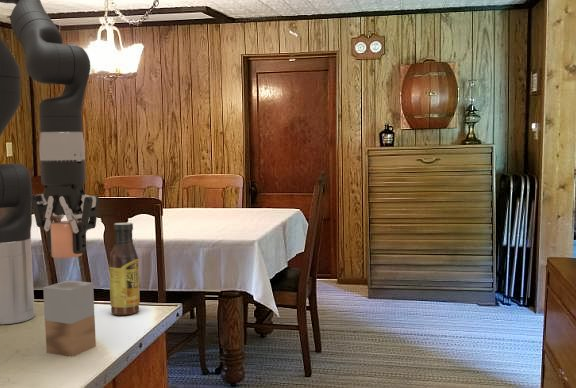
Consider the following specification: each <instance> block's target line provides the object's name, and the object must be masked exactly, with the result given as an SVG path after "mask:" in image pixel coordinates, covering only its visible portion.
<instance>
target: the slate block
mask: <svg viewBox="0 0 576 388" xmlns="http://www.w3.org/2000/svg"><path fill="white" fill-rule="evenodd" d="M42 289H43V291H42V292H43V306H44V307H43V308H44V309H43V310H44V321H45V320H46V321H53V322H60V323H67V324H72V323H75V322H77V321H80V320H82V319H85V318H88V317H90V316H93V315H95V296H94V294H95V293H94V282H88V281H79V280H72V279H71V280H70V279H68V280H64V281H61V282H57V283H54V284H50V285H47V286H44V287H42Z"/></svg>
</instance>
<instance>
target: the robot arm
mask: <svg viewBox="0 0 576 388" xmlns="http://www.w3.org/2000/svg"><path fill="white" fill-rule="evenodd" d="M0 3H3V4H14V5H15V6H14V8H13V10H12V11H11V14H10V27H11V29H12V32H13V34H14V35H15V37H16V39H17V40H18V41H19V43H20V44H21V46H22V48H23V52H24V57H25V59H24V60H25V68H26V73H27V74H28V75H29V77H30V78H31V79H32V80H34V81H36V82H37V83H40V84H46V85H47V84H48V85H63V86H64V89H63V91H62V93H61V95H60V96H55V97H49V98H45V99H43V100H41V101H40V102H39V108H38V109H39V110H38V112H39V129H40V130H39V133H40V134H39V163H40V164H39V165H40V168H39V169H40V183H41V185H43V186H44V190H43V193H41V194H33V188H32V187H33V186H32V177H31V174H30V173H31V172H30V170H29V169H28V168H27V167H26V165H24V164H22V163H0V209H5V208H7V211H6V213H5V214H4V215H3V216H2V217H1V218H0V325H9V324H11V325H13V324H17V323H21V322H27V321H29V320H32V319H33V318H34V317H35V295H34V292H35V291H34V274H33V255H32V232H31V231H32V222H33V217H32V216H34V219H35V222H36V226H37V227H38V228H42V229H44V231H45V233H46V246H47V249H48V252H50V253H51V228H50V223H52V222H57V221H62V219H64V217H66V221H69V222H70V223H71V226H72V229H73V232H74V233H73V252H74V254H81V253H82V254H83V253H85V251H86V249H87V232H88V231H89V230H91V229H95V228H96V225H97V220H98V219H97V217H98V211H99V206H100V205H99V203H100V197H99V196H98V195H88V194H87V193H86V191H85V188H84V185H85V184H86V183H87V175H86V169H87V168H86V152H85V150H86V149H85V147H86V145H85V140H84V135H83V117H82V114H83V113H82V111H83V103H84V98H85V94H86V89H87V86H88V85H87V84H88V81H89V77H90V72H91V61H90V57H89V55H88V53H87V52H86V50H85V49H84V47H81V46H79V45H74V44H67V43H66V44H65V43H63V35H62V33H61V32H60V30H59V28H58V27H57V25H56V24H55V23H54V21H53V20H52V19H51V17H50V16H49V14H48V13H47V11H46V10H45V8H44V6H43V4H42V2H41V0H0ZM21 83H22V80H21V69H20V66H19V64H18V62H17V60H16V57H15V56H14V54H13V53H12V51H11V50H10V48H9V47H8V46H7V44H6V42H5V41H4V39H3V38H2V36H1V35H0V137H1V136H2V134H3V132H4V131H5V129H6V128H7V127H8V124H9V123H10V122H11V120H12V119H13V118H14V115H15V114H16V112H17V111H18V109H19V107H20V103H21V100H22V98H21V97H22V88H21V86H22V85H21ZM32 209H33V210H32ZM32 212H33V214H34V215H32ZM78 222H79V224H80V225H79V224H78Z"/></svg>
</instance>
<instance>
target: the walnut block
mask: <svg viewBox="0 0 576 388" xmlns="http://www.w3.org/2000/svg"><path fill="white" fill-rule="evenodd" d="M95 316H96V314H94V315H93V316H90V317H88V318H85V319H82V320H80V321H77V322H75V323H72V324H67V323H60V322H53V321H46V320H45V319H44V324H45V325H44V328H45V329H44V330H45V347H46V348H45V349H46V353H47V354H52V355H59V356H64V357H69V356H71V357H70V358H73V357H72V356H74V357H76V356H78V355H80V354H82V353H84V352H87V351H89V350H91V349H93V348H95V347H97V343H96V340H97V339H96V321H95V320H96V319H95V318H96V317H95ZM77 354H78V355H77ZM75 355H76V356H75Z"/></svg>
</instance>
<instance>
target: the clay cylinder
mask: <svg viewBox="0 0 576 388" xmlns="http://www.w3.org/2000/svg"><path fill="white" fill-rule="evenodd" d="M78 224H79V222H78ZM79 225H80V224H79ZM50 228H51V252H50V253H51V257H52V258H54V259H70V258H76V257H77V258H78V257H81V256H83V253H81V254H74V252H73V233H74V232H73V229H72V226H71V223H70V222H69V221H68V220H61V221H57V222H52V223H50Z"/></svg>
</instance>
